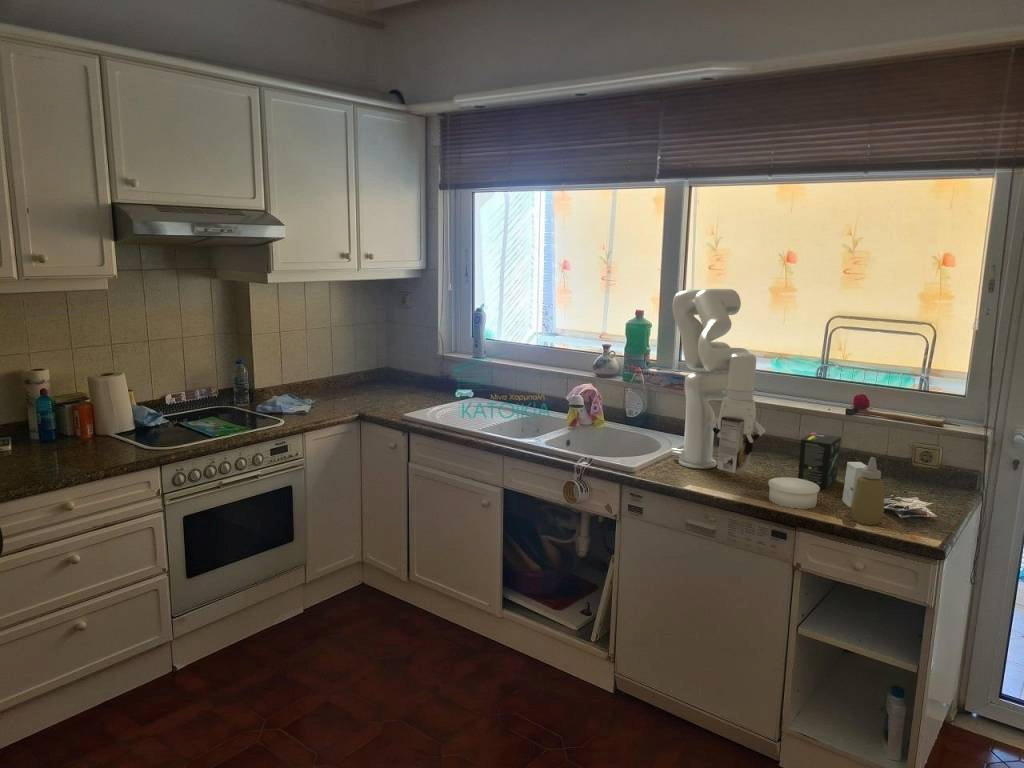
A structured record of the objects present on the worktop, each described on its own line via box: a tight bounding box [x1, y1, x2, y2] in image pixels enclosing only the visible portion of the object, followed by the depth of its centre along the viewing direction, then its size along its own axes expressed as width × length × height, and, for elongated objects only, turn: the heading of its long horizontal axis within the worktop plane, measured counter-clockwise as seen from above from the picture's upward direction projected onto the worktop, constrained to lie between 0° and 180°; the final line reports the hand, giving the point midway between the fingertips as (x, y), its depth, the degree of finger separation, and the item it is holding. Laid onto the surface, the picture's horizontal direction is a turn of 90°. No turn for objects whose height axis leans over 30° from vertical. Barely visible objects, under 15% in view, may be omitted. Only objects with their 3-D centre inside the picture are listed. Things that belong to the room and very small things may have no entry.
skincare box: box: [842, 461, 868, 509], centre depth 214 cm, size 6×4×12 cm
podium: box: [767, 476, 821, 510], centre depth 217 cm, size 14×14×5 cm
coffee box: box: [716, 417, 751, 474], centre depth 223 cm, size 9×6×16 cm
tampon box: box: [797, 431, 842, 490], centre depth 234 cm, size 11×9×15 cm
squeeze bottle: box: [851, 456, 885, 526], centre depth 200 cm, size 8×8×18 cm
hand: (734, 451), depth 224 cm, fingers closed on coffee box, 7 cm apart
